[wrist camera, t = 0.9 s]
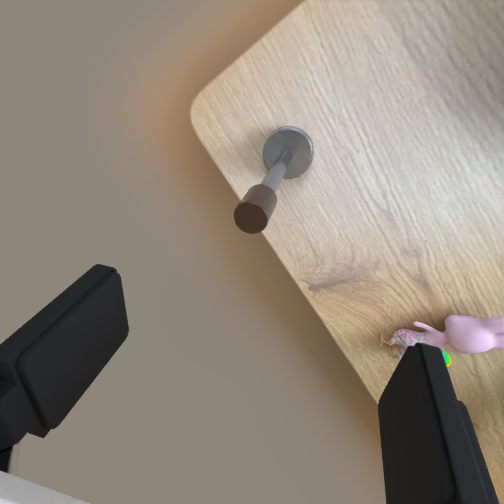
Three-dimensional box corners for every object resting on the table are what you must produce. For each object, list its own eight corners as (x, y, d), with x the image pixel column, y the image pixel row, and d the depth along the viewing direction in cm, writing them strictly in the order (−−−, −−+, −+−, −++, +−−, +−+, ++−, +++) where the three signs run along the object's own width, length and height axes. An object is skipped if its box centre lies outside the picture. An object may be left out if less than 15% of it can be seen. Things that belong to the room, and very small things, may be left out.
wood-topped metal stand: (256, 154, 31) (197, 220, 19) (286, 114, 29) (241, 161, 17) (291, 184, 32) (258, 266, 20) (324, 148, 30) (308, 216, 17)
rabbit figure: (396, 349, 41) (546, 331, 32) (394, 390, 37) (568, 382, 28) (374, 315, 39) (528, 285, 30) (370, 354, 35) (547, 333, 26)
